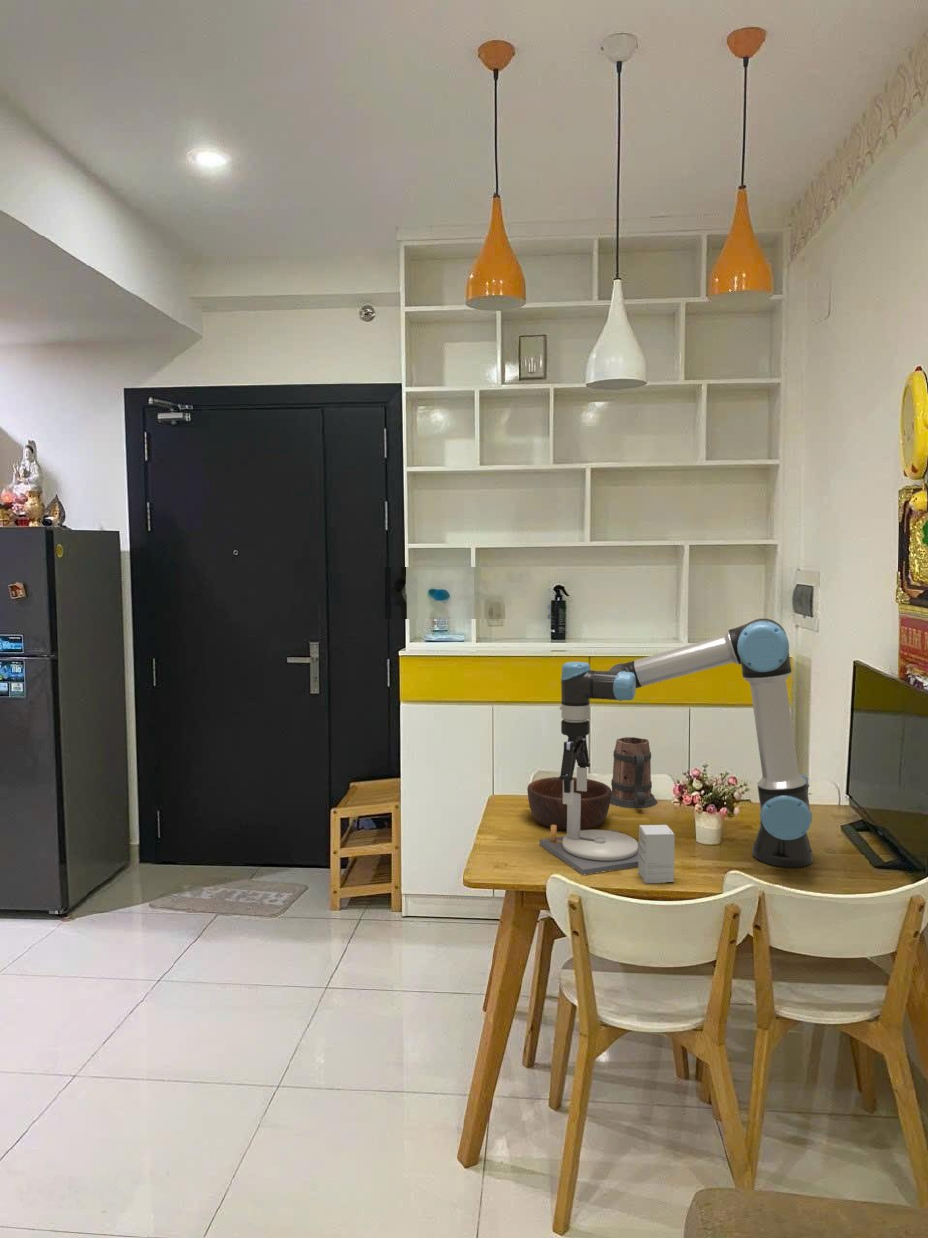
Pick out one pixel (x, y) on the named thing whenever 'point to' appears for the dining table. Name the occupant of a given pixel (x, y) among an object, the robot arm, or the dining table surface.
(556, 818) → the wooden bowl
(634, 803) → the tankard
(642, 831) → the supplement box
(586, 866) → the dial plate
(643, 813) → the dining table surface
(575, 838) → the grey round-based post piece
